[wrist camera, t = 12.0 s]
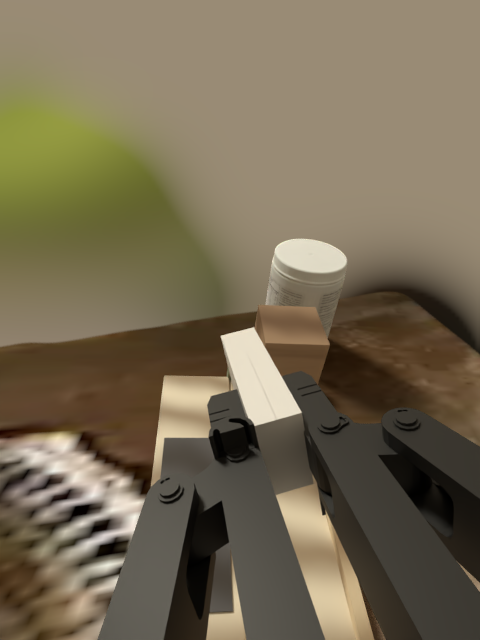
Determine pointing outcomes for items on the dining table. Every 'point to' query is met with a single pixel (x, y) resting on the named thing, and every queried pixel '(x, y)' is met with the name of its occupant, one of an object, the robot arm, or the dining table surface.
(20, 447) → the dining table surface
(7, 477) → the dining table surface
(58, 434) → the dining table surface
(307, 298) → the supplement tub
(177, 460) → the box
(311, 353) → the walnut block
